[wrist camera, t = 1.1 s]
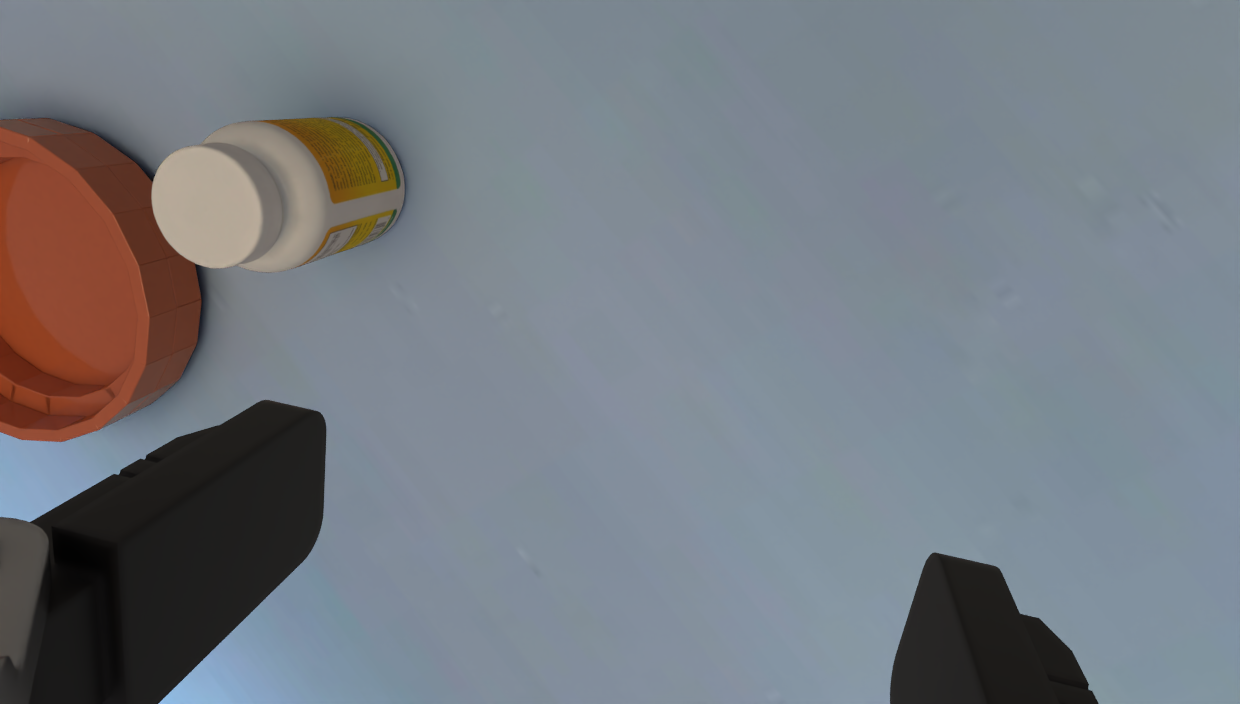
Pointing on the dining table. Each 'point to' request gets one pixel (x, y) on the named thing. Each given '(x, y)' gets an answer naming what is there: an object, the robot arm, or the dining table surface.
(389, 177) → the supplement bottle
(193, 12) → the dining table surface
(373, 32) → the dining table surface
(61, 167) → the bowl
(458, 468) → the dining table surface
